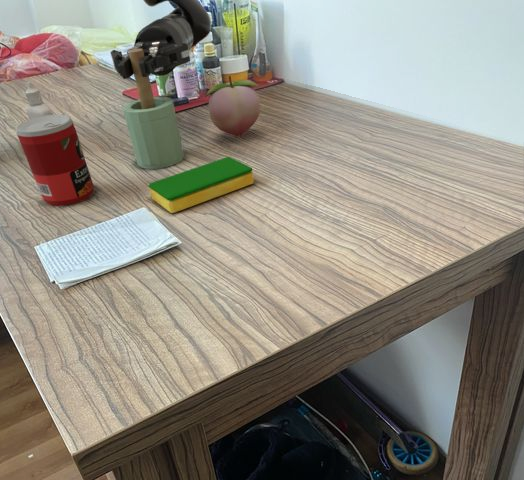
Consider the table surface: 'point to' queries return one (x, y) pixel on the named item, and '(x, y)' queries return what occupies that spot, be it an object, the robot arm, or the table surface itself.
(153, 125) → the jar
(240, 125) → the decorative fruit
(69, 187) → the canned food
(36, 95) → the eye dropper bottle
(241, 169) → the dish sponge
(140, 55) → the brush
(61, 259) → the table surface
